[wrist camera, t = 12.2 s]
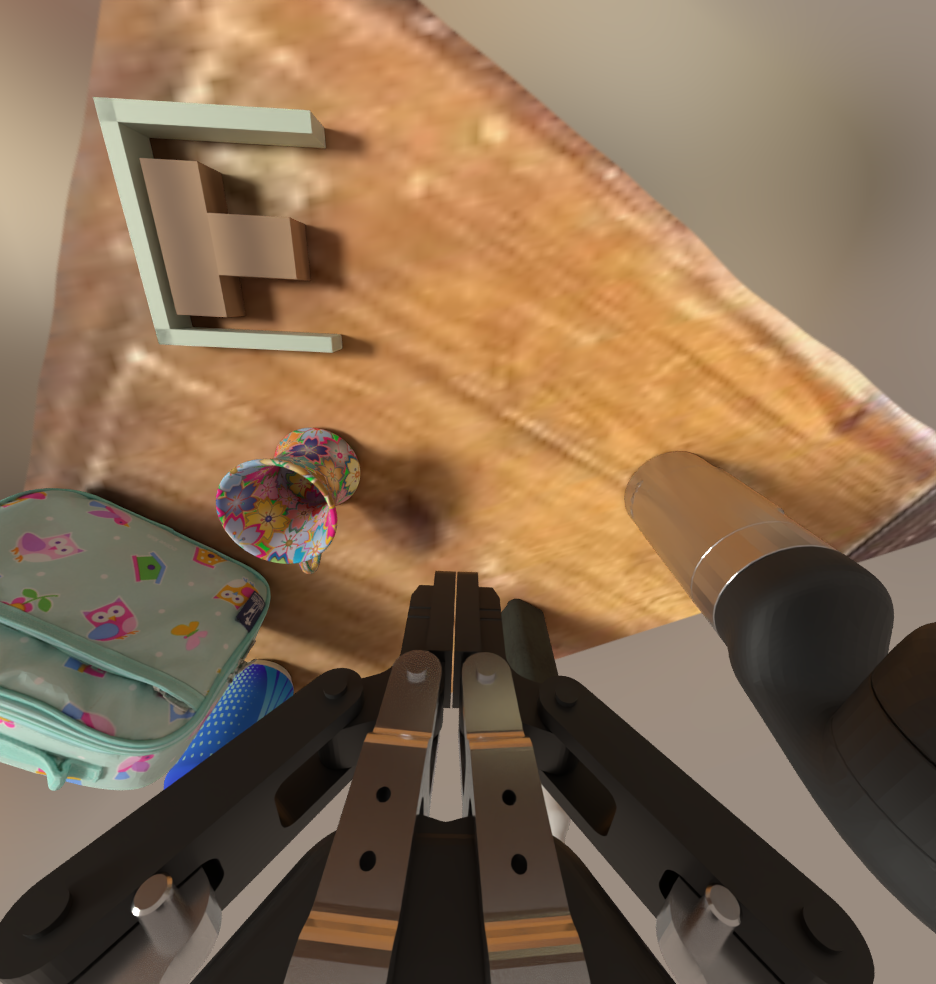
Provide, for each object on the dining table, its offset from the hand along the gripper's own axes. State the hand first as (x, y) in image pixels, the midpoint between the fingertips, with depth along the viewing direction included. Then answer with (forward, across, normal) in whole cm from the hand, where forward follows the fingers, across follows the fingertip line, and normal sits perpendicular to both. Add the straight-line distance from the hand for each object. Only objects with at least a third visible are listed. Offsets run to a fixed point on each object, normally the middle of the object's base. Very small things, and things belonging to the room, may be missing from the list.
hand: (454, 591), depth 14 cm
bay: (+27, +18, -12) cm, 35 cm away
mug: (+27, +14, +8) cm, 32 cm away
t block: (+27, +18, -12) cm, 35 cm away
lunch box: (+27, +32, +19) cm, 46 cm away
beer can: (+27, +25, +38) cm, 53 cm away
